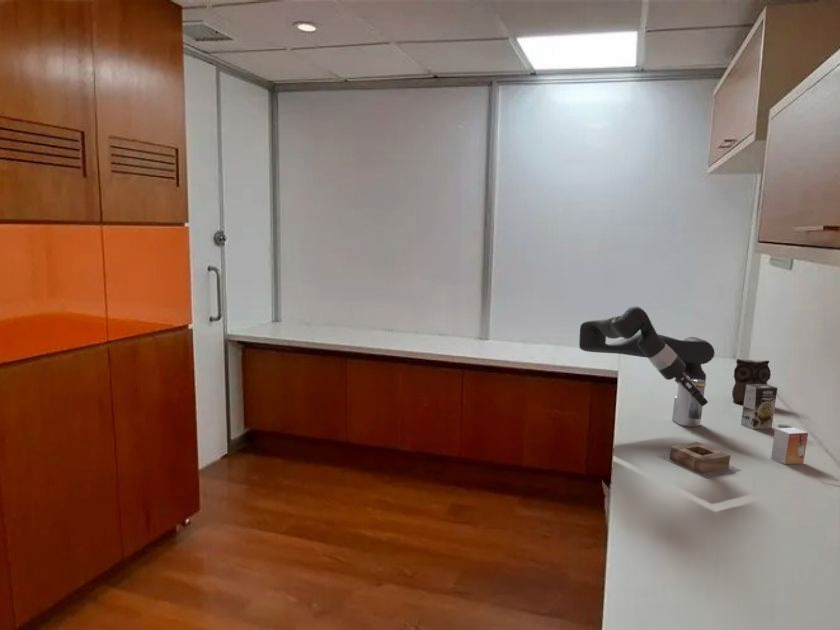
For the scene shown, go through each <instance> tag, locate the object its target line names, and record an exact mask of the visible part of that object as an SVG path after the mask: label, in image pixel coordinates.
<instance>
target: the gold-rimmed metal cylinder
mask: <svg viewBox="0 0 840 630" xmlns="http://www.w3.org/2000/svg"><path fill="white" fill-rule="evenodd" d="M691 381H692V382H693V383H694V384H695V385H696V388H697V389H698V390H699V391H700V393H701V395H702V396H703V397H704V398H705V390H706V389H705V387H706V385H707V383H706V381H705V380H701V379H691ZM704 389H705V390H704ZM694 392H696V390H695V391H693V392H692V393H694ZM703 407H704V406H701V404H700V403H699V402H698V401H697V400H696V399H695V398H694V397H692V395H691V394H690V397H689V406H688V415H687V417H689V418H691V419H701V420H702V414H703Z"/></svg>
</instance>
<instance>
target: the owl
mask: <svg viewBox="0 0 840 630" xmlns="http://www.w3.org/2000/svg"><path fill="white" fill-rule="evenodd" d="M735 361H736V362H735V363H736V366H735V368H734V370H733V378H734V386H733V388H732V391H731V392H732V393H731V395H732V399H733V404H736V405H741V406H743V405H744V398H745V391H746V384H766V385H768V383H767V382H768V381H769V380H770V379H771V369H770V366H769V363H770V360H761V359H740V358H737V359H736V360H735Z"/></svg>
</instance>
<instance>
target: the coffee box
mask: <svg viewBox="0 0 840 630" xmlns="http://www.w3.org/2000/svg"><path fill="white" fill-rule="evenodd" d="M777 393H778V387H776V386H773V385H770V384H767V385H766V384H746V391H745V398H744V405H742V414H741V420H740V425H741V426H744V427H747V428H749V429H752V430H766V429H767V430H768V429H772V428H773V422H774V415H775V409H776V401H777Z"/></svg>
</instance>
